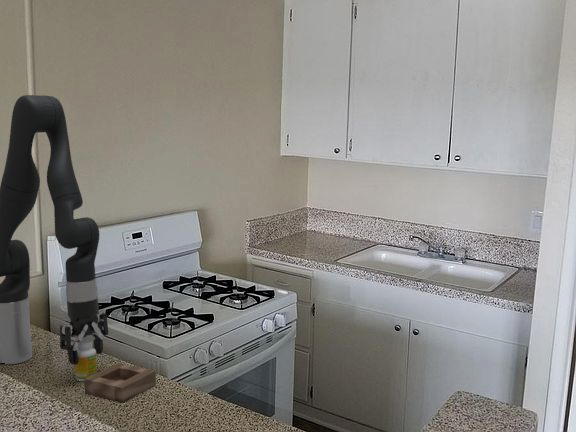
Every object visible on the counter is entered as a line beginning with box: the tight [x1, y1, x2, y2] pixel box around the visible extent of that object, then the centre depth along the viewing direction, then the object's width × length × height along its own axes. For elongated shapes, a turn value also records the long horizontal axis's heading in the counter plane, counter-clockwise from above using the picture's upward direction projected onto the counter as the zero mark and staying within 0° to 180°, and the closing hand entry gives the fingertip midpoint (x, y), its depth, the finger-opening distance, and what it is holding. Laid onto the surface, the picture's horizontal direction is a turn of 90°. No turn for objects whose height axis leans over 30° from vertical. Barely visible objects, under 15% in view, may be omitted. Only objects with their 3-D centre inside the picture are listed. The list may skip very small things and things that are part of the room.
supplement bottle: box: [74, 338, 98, 382], centre depth 171 cm, size 5×5×10 cm
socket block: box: [83, 362, 157, 403], centre depth 164 cm, size 12×12×4 cm
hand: (86, 358), depth 171 cm, fingers open, 8 cm apart
